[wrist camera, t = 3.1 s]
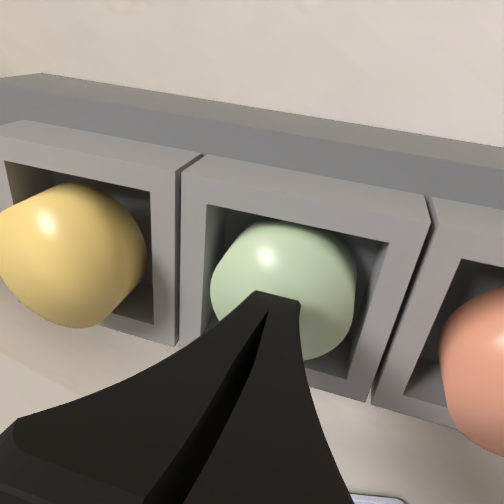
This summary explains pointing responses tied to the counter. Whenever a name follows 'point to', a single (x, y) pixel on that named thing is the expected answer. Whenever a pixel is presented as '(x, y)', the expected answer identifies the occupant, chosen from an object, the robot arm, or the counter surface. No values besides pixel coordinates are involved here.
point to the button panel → (274, 215)
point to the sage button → (292, 277)
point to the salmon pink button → (476, 369)
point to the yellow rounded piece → (71, 254)
